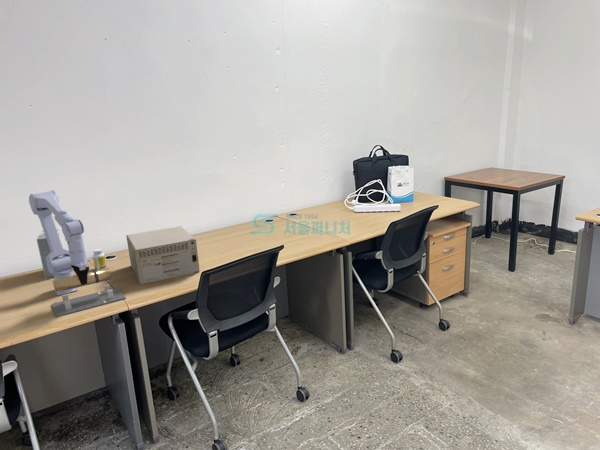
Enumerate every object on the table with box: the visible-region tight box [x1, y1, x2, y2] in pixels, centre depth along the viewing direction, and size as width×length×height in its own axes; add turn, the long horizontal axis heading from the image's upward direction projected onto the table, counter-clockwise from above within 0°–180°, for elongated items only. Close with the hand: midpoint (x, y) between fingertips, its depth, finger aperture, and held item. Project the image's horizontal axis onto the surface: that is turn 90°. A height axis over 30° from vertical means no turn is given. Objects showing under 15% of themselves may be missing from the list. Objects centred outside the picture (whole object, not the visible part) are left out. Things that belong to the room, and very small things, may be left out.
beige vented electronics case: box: [126, 225, 201, 285], centre depth 216 cm, size 27×29×16 cm
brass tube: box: [52, 267, 112, 294], centre depth 183 cm, size 5×21×5 cm, turn 124°
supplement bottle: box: [92, 248, 108, 271], centre depth 221 cm, size 5×5×10 cm
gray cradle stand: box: [51, 283, 127, 318], centre depth 184 cm, size 14×26×4 cm, turn 124°
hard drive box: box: [36, 228, 62, 279], centre depth 218 cm, size 16×8×20 cm, turn 21°
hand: (82, 281), depth 183 cm, fingers closed on brass tube, 5 cm apart
